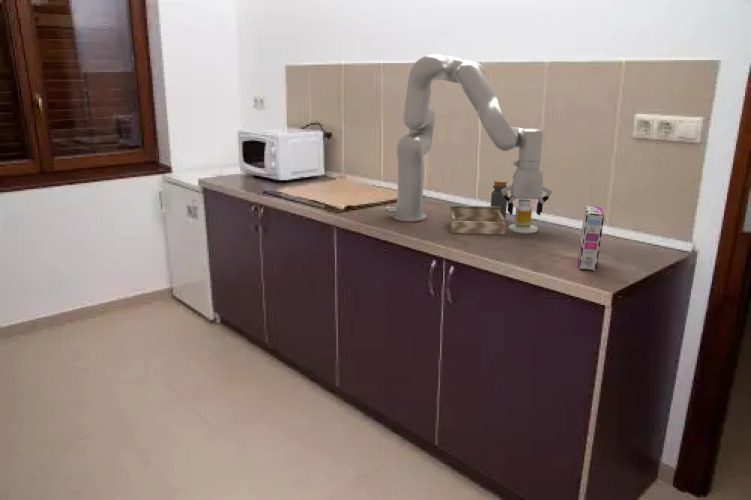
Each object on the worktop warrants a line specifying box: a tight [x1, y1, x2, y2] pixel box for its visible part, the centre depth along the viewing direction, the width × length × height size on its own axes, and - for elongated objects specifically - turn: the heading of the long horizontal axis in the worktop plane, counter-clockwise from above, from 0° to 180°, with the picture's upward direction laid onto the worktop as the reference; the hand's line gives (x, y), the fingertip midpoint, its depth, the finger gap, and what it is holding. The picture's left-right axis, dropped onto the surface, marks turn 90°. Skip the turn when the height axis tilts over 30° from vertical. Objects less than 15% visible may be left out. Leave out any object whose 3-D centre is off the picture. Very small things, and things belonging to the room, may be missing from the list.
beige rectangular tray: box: [448, 204, 506, 235], centre depth 206 cm, size 18×13×7 cm
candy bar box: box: [577, 205, 605, 272], centre depth 167 cm, size 11×5×16 cm, turn 163°
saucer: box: [508, 223, 539, 235], centre depth 206 cm, size 10×10×1 cm
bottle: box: [490, 179, 508, 220], centre depth 217 cm, size 6×6×15 cm
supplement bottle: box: [514, 199, 533, 229], centre depth 204 cm, size 5×5×10 cm
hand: (524, 213), depth 204 cm, fingers open, 9 cm apart
